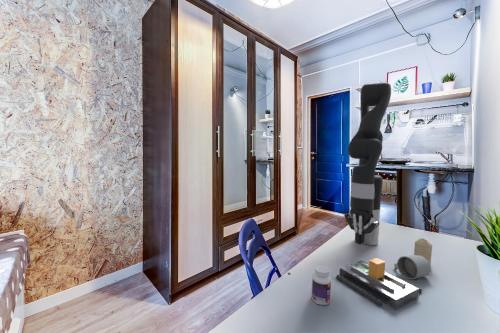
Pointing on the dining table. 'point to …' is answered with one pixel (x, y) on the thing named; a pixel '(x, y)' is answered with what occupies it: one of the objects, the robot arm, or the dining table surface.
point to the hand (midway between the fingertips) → (359, 243)
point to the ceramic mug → (413, 266)
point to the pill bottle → (321, 285)
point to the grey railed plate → (364, 291)
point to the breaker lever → (376, 268)
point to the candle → (423, 249)
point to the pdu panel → (380, 285)
